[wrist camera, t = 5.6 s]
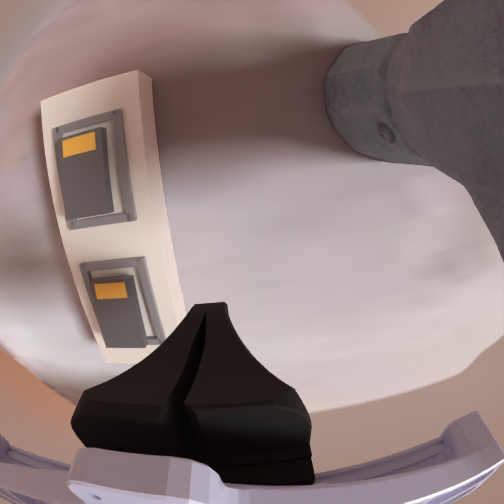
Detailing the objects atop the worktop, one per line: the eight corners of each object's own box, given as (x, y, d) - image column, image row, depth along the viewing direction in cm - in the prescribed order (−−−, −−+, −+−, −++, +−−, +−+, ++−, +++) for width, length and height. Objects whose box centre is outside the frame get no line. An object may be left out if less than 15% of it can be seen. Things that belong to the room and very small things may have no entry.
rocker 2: (148, 342, 19) (145, 348, 18) (109, 343, 19) (105, 348, 18) (133, 274, 18) (129, 278, 17) (93, 278, 18) (88, 281, 17)
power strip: (192, 338, 24) (187, 366, 21) (116, 340, 24) (104, 366, 21) (151, 78, 16) (135, 68, 13) (63, 103, 16) (37, 101, 13)
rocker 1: (114, 211, 16) (108, 213, 15) (71, 218, 15) (65, 220, 15) (106, 128, 14) (100, 126, 14) (63, 140, 14) (56, 139, 13)
